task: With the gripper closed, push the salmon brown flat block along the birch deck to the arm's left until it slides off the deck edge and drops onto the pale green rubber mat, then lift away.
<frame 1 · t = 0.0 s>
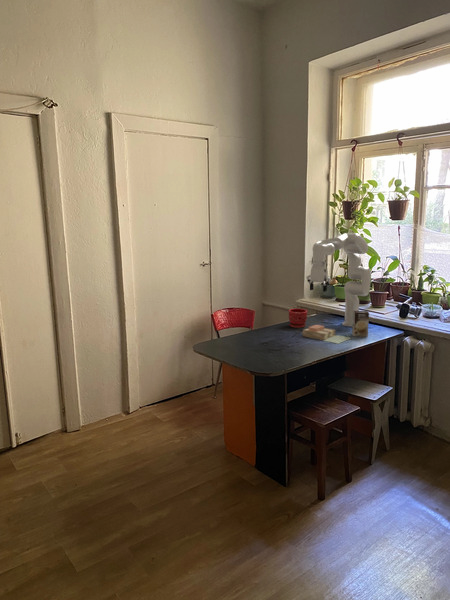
hand: (318, 290, 282), 31 cm above the table, tool pointing down, fingers open, 9 cm apart
salmon brown flat block: (316, 329, 294), point 4 cm above the table, touching deck
coffee box: (360, 335, 292), on the table
deck: (318, 335, 293), on the table
mat: (337, 339, 284), on the table
plant pot: (297, 326, 319), on the table
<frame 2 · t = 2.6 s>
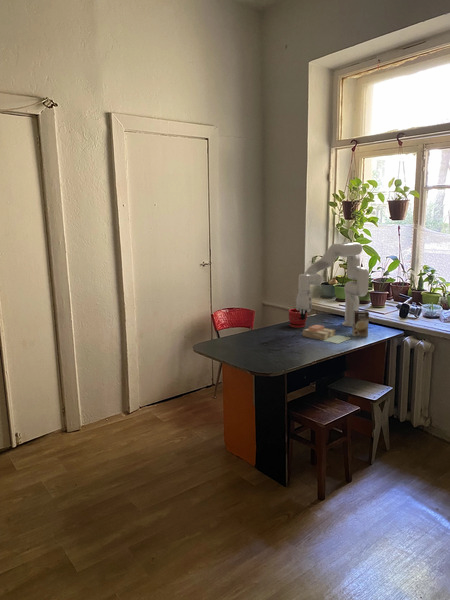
hand: (303, 319, 299), 10 cm above the table, tool pointing down, fingers closed
nothing on the table moved.
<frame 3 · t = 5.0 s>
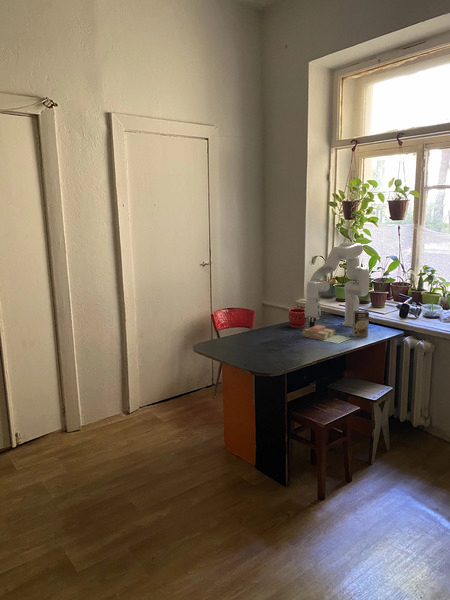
hand: (311, 327, 296), 5 cm above the table, tool pointing down, fingers closed
salmon brown flat block: (317, 329, 293), point 4 cm above the table, touching deck
everything else where it was.
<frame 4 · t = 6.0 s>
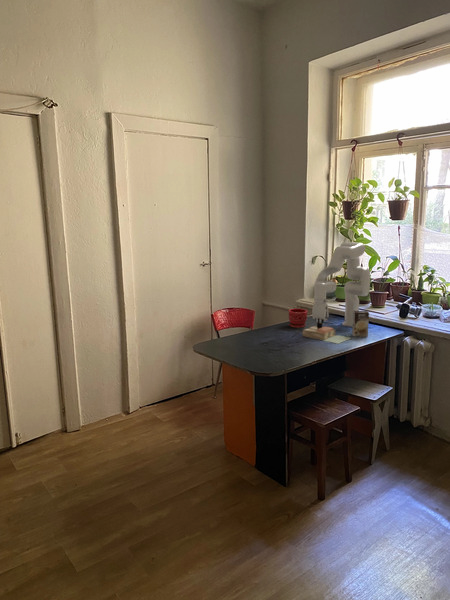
hand: (319, 328, 292), 5 cm above the table, tool pointing down, fingers closed
salmon brown flat block: (325, 331, 288), point 4 cm above the table, touching gripper
everything else where it was.
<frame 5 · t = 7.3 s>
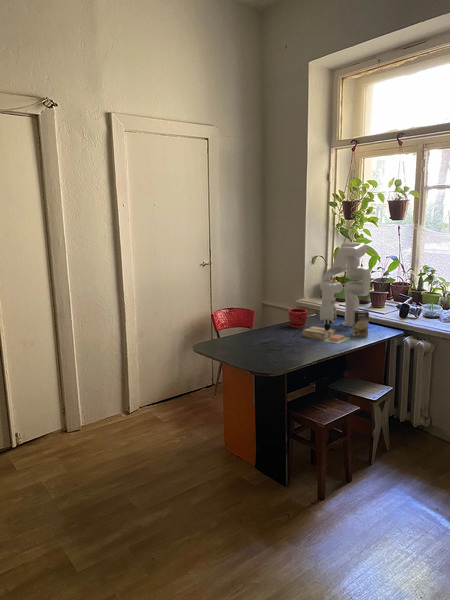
hand: (327, 329, 288), 5 cm above the table, tool pointing down, fingers closed
salmon brown flat block: (336, 336, 282), point 2 cm above the table, tilted 180°, touching mat
everything else where it was.
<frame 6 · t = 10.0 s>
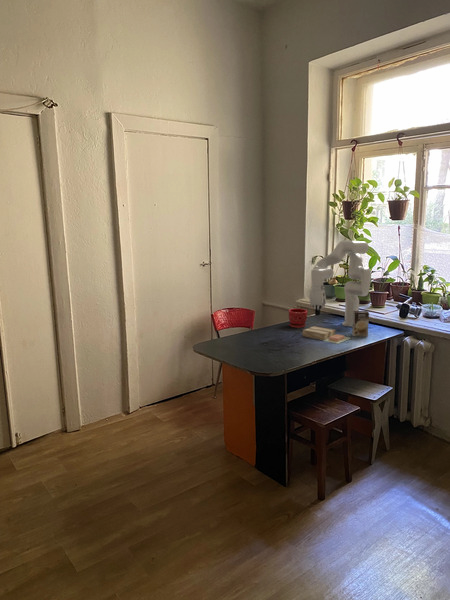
hand: (317, 315, 292), 14 cm above the table, tool pointing down, fingers closed
nothing on the table moved.
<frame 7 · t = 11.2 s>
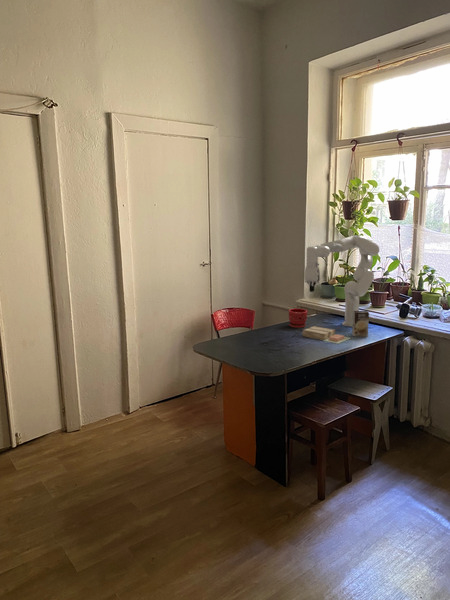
hand: (311, 291, 305), 27 cm above the table, tool pointing down, fingers closed
nothing on the table moved.
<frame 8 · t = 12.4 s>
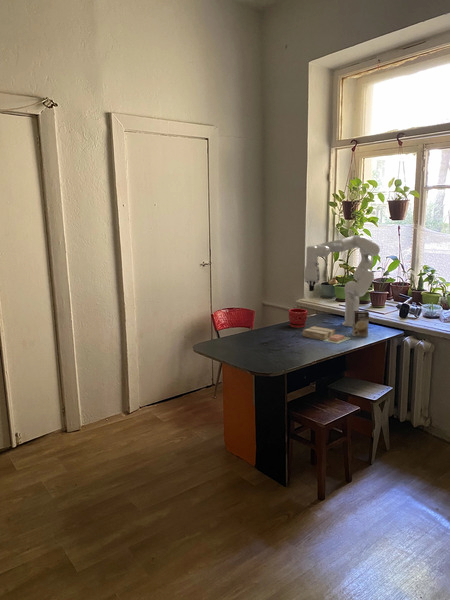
hand: (311, 290, 306), 27 cm above the table, tool pointing down, fingers closed
nothing on the table moved.
at the end: salmon brown flat block inside the target area (1.0 cm from its centre), point 2.3 cm above the table; salmon brown flat block moved 16.0 cm from its start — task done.
